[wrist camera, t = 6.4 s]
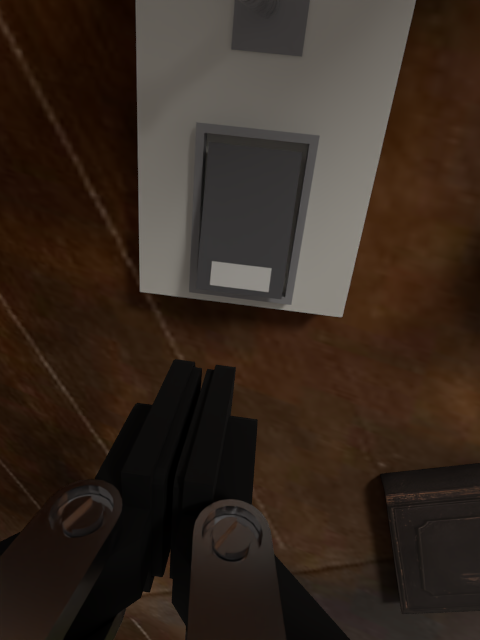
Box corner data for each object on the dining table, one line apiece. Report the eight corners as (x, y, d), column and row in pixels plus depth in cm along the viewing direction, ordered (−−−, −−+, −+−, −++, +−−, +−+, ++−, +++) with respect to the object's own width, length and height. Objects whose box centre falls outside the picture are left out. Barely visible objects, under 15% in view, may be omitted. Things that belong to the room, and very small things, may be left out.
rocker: (211, 146, 19) (208, 141, 18) (300, 156, 19) (302, 151, 18) (199, 285, 21) (195, 288, 20) (280, 296, 21) (281, 299, 20)
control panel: (156, -473, 14) (115, -674, 10) (501, -458, 13) (578, -664, 10) (154, 275, 26) (135, 296, 22) (335, 298, 25) (344, 323, 22)
